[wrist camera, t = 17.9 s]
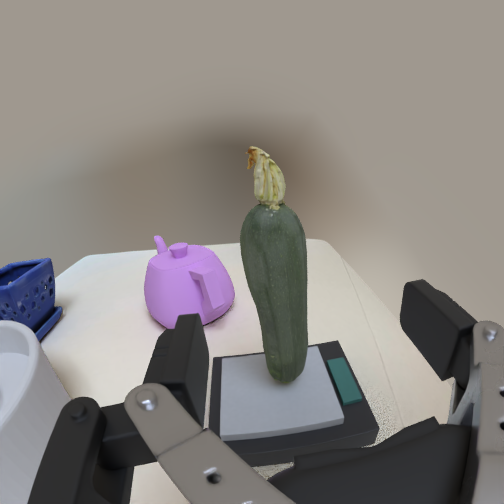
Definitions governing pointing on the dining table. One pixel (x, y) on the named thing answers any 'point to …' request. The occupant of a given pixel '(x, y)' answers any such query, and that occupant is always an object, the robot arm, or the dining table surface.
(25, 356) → the container
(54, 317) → the flower pot
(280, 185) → the vegetable
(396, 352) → the dining table surface
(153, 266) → the teapot
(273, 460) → the scale
